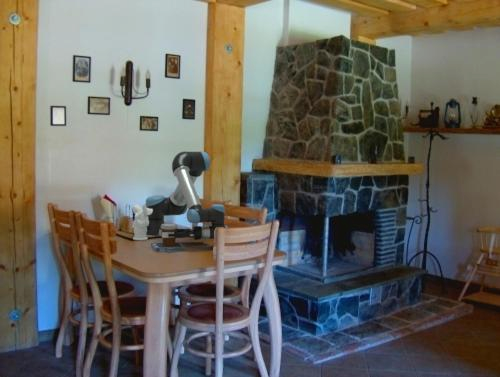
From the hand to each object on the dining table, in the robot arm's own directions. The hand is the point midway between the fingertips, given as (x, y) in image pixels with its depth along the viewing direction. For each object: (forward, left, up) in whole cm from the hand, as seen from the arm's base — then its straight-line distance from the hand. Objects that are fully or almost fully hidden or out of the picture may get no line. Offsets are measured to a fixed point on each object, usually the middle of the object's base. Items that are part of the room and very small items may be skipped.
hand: (160, 233), depth 317 cm
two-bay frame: (0, +12, -8) cm, 14 cm away
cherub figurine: (-31, -5, -9) cm, 33 cm away
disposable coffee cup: (0, +5, -7) cm, 9 cm away
